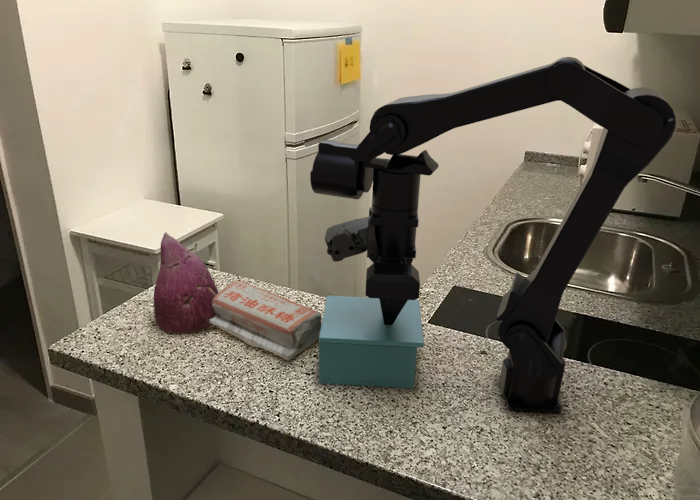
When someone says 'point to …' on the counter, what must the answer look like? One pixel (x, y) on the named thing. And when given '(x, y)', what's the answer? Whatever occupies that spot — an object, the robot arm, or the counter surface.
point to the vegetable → (182, 290)
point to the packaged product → (265, 319)
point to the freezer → (367, 365)
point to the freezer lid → (370, 323)
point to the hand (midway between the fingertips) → (388, 314)
